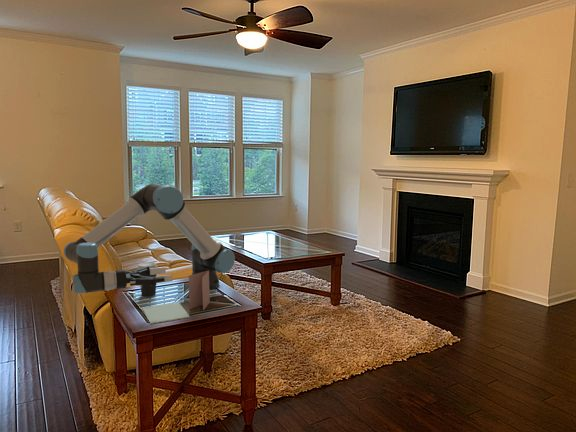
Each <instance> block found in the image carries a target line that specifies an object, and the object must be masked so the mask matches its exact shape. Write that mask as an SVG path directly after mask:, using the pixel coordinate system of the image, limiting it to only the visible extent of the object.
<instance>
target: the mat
mask: <svg viewBox="0 0 576 432" xmlns="http://www.w3.org/2000/svg"><path fill="white" fill-rule="evenodd" d="M141 309H142V311H143V313H144V315H145V317H146V319H147V320H149V321H148V323H149V322H150V323H149V324H150V325H154V324H153V323H155V324H159V322H161V323H166V322H165V321H167V322H172V320H173V321H178V319H179V320H184V319H189V318H191V316H190V315H189V313H188V312H187V310H185V308H184V307H183V306H182V304H181V303H180V302H179V301H177V302H176V301H175V302H170V303H162V304H157V305H150V306H143V307H142V308H141Z"/></svg>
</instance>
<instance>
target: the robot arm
mask: <svg viewBox="0 0 576 432" xmlns="http://www.w3.org/2000/svg"><path fill="white" fill-rule="evenodd" d="M186 205H187V204H186V201H184V196H183V194H182V192H181V190H179V188H177V187H175V186H172V185H170V184H159V183H151V184H147V185H146V186H144V187H142V188H141V189H139V190H138V191H136V192H135V193H134V194H133V195H131V196H130V197H129V198H128V200H127V202H126V203H125V204H123V205H122V206H120V207H119V208H118V209H116V211H114V212H113V213H111V214H110V215H109V216H107V217H106V218H104V220H102V221H101V222H100V223H98V224H97V225H96V226H95V227H93V228H92V229H91V230H89V231H88V232H86V233H85V234H84V235H82V237H80V238H78V239H77V240H75V241H72V242H68V243H67V244H66V245H65V246H64V247H63V255H64V257H65V258H67V260H69V261H70V262H73V263H75V264H77V273H76V274H73V276H72V287H73V292H74V293H75V294H89V293H97V292H101V291H102V292H103V291H107V292H110V291H111V290H115V289H117V290H120V289H126V288H127V285H128V284H129V285H130V286H131V287H132V286H140V285H154V286H156V287H157V284H163V283H169V282H173V274H167V273H166V267H165V266H163V267H162V266H161V267H158V268H150V269H149V267H147V268H142V269H137V268H136V269H133V270H128V271H126V270H125V269H117V270H115V271H114V270H108V271H99V268H100V267H99V249H98V248H99V247H101V246H102V245H103V244H104V243H106V242H107V241H108V240H110V239H111V238H112V237H113V236H114V235H116V234H117V233H119V232H120V231H121V230H122V229H124V228H125V227H126V226H127V225H129V224H130V223H131V222H132V221H134V220H135V219H136V218H137V217H139V216H144V215H145V214H147V213H148V212H150V211H155V212H157V213H158V214H159V215H160V216H161V217H162V218H163V219H164V221H171V223H172V224H173V225H174V226H175V227H176V228H177V229H178V230H179V231H180V232H181V234H183V235H184V236H185V237H186V239H187V240H188V241H189V242H190V243H191V244H192V245H191V267H192V268H191V269H192V272H191V275H194V274H197V273H201V272H205V271H208V270H209V290H213V289H216V288H218V287H219V286H220V278H219V276H218V274H217V273H221V274H222V273H223V274H224V273H228V272H229V271H231V270H232V268H233V267H234V265H235V260H236V257H235V254H234V251H232V250H231V249H229V248H226V247H225V246H224V245H223V244H222V242H221V241H220V240H218V239H213V237H212V236H211V235H210V233H209V232H208V231H206V229H205V228H204V227H203V226H202V224H200V222H198V221H197V219H196V218H195V217H194V216H193V214H191V212H190V211H189V210H188V209H187V208H186ZM149 274H150V275H155V274H156V277H146V275H149ZM161 274H162V275H161Z"/></svg>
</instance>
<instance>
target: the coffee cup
mask: <svg viewBox="0 0 576 432" xmlns="http://www.w3.org/2000/svg"><path fill="white" fill-rule="evenodd" d="M147 267H149V269H150V268H159V267H158V265H157V264H156V263H155V262H152V261H151V262H150V261H147V262H146V261H145V262H141V263H139V264H138V266H137V268H136V270H137V269H142V268H147ZM156 276H157V274H155V275H150V274H149V275H146V277H156ZM139 287H140V293H141V297H153V296H155V295H156V294H157V293H156V291H157V285H156V286H154V285H139Z"/></svg>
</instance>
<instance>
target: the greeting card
mask: <svg viewBox="0 0 576 432" xmlns="http://www.w3.org/2000/svg"><path fill="white" fill-rule="evenodd" d="M188 297H189V299H188V300H189V309H194V308H196V307H200V306H202V311H204V310H205V309H206V308H207V306H208V305H209V304H210V301H211V300H210V299H211V298H210V289H209V270H208V271H205V272H201V273H197V274H194V275H192V274H190V275H188Z"/></svg>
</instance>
